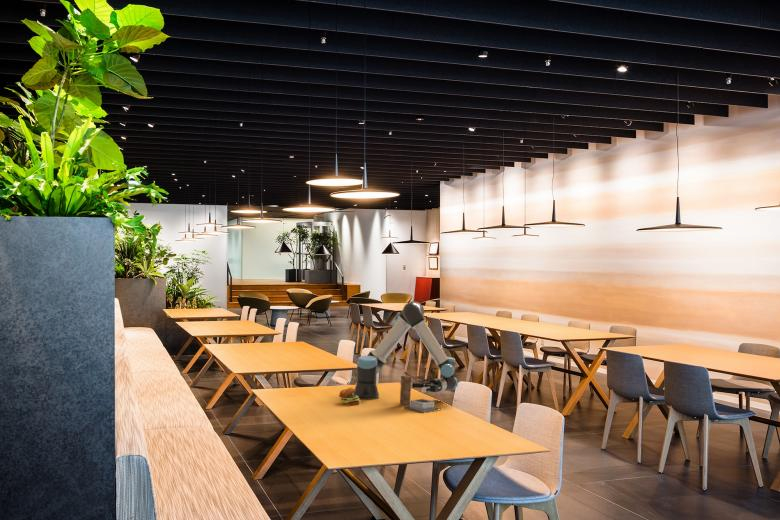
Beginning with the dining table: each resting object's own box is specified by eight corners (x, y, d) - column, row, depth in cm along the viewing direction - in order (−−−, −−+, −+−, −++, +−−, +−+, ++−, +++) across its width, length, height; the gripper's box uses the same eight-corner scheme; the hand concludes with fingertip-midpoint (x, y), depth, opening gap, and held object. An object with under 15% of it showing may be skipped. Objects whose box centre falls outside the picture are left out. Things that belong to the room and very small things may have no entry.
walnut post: (399, 404, 372) (401, 375, 373) (404, 403, 375) (406, 375, 376) (405, 405, 369) (406, 376, 370) (409, 405, 372) (411, 376, 373)
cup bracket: (404, 408, 362) (404, 400, 362) (421, 405, 372) (421, 397, 372) (423, 413, 352) (423, 404, 352) (440, 410, 362) (440, 401, 362)
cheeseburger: (359, 405, 363) (356, 387, 363) (340, 409, 363) (337, 391, 363) (361, 402, 373) (357, 384, 373) (342, 405, 373) (338, 388, 374)
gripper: (453, 395, 382) (429, 398, 367) (421, 388, 399) (396, 391, 384) (454, 381, 382) (429, 384, 367) (421, 375, 400) (397, 378, 385)
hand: (412, 388), depth 376 cm, fingers open, 13 cm apart
